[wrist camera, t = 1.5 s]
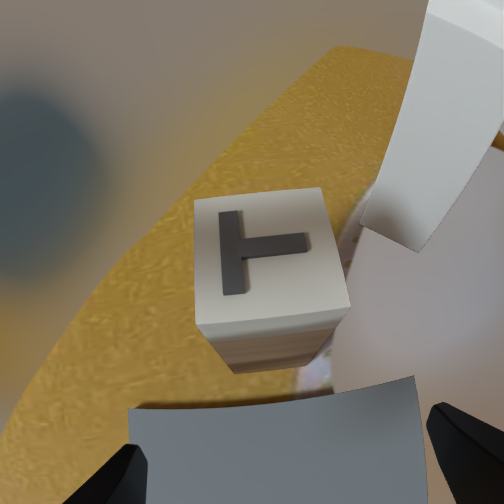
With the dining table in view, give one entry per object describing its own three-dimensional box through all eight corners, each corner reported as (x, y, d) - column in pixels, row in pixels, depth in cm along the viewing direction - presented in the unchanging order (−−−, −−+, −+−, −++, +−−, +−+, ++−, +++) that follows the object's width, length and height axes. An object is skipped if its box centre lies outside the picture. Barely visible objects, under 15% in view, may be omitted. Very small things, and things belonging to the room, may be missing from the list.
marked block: (306, 365, 21) (352, 304, 10) (234, 373, 21) (194, 323, 10) (296, 299, 23) (320, 183, 12) (228, 307, 23) (193, 196, 12)
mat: (422, 517, 14) (428, 520, 13) (150, 550, 13) (146, 554, 13) (408, 377, 20) (413, 375, 19) (133, 408, 19) (127, 408, 18)
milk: (377, 181, 29) (436, -41, 9) (431, 207, 27) (522, 1, 8) (357, 225, 26) (433, -43, 7) (418, 255, 24) (547, 16, 5)
